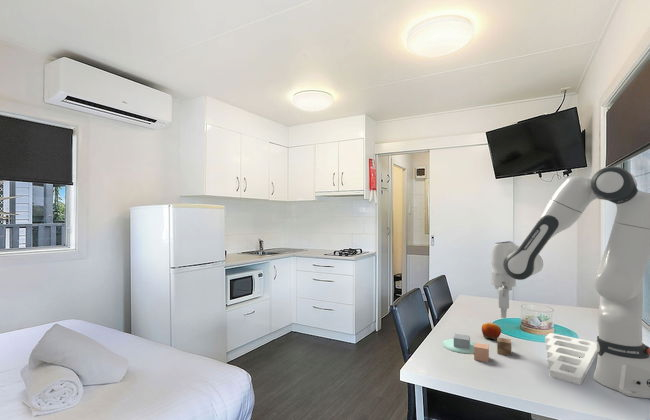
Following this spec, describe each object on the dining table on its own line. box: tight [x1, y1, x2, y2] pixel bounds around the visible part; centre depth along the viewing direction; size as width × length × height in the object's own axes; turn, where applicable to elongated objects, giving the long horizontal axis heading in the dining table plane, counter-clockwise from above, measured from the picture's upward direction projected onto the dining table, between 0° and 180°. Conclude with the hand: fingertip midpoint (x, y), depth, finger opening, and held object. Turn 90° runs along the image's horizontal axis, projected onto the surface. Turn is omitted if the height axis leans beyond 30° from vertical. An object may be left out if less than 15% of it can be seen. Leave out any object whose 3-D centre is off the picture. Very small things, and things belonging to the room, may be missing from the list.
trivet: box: [544, 332, 598, 385], centre depth 134 cm, size 45×18×3 cm, turn 135°
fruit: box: [481, 322, 502, 341], centre depth 155 cm, size 8×8×8 cm
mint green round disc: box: [441, 333, 476, 355], centre depth 145 cm, size 16×16×4 cm
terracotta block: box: [473, 342, 490, 363], centre depth 133 cm, size 5×5×5 cm
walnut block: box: [496, 336, 512, 357], centre depth 139 cm, size 5×5×5 cm
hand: (503, 314), depth 140 cm, fingers open, 8 cm apart
